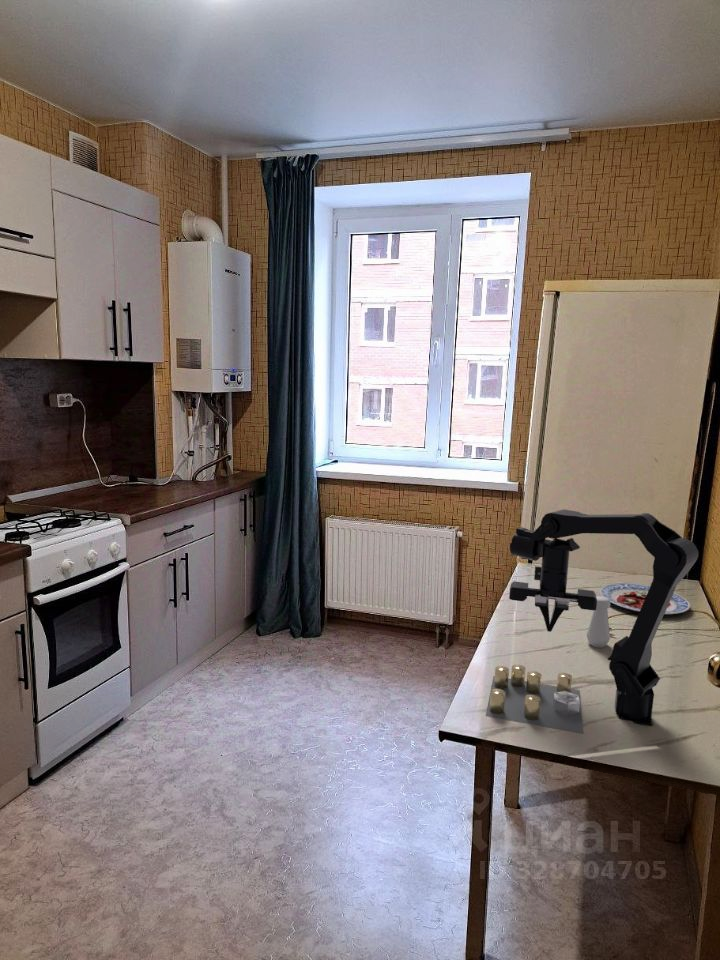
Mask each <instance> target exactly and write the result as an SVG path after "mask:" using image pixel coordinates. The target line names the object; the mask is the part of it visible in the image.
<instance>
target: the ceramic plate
mask: <svg viewBox="0 0 720 960" xmlns="http://www.w3.org/2000/svg"><path fill="white" fill-rule="evenodd" d="M650 586H651V585H645V584H644V585H643V584H636V583H613V584H607V585H606V586H603V587H602V588H601V589H600V591H599V592H600V596H602V597H606V598H608V599H609V600H610V604H611V603H612V604H614V605H615V606H618V607H621V608H624V609H627V610H631V611H634V612H640V610H641V607H642V605H643V603H644V600H645V598H646V595H647V593H648V591H649V588H650ZM690 608H691V604H690V602H689V601H688V600H687V599H686V598H684V597H682V595H679V594H678V593H675V592H674V593H673V595H672V598H671V600H670V602H669V604H668V607H667V609H666V611H665V614H664V615H675V614H677V615H678V614H682V613H685V612H687V611H689V609H690Z"/></svg>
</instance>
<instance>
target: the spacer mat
mask: <svg viewBox="0 0 720 960" xmlns="http://www.w3.org/2000/svg"><path fill="white" fill-rule="evenodd" d="M494 681H495V675H493V677H492V681H491V687H490V692H489V697H488V701H487V706H486V711H485V716H486V717H489V718H495V719H500V720H505V721H512V722H517V723H523V724H527V725H534V726H539V727H543V728H544V727H545V728H551V729H553V730H554V729H555V730H560V731H565V732H570V733H571V732H572V733H577V734H582V735H583V734H584V724H583V712H582V700H581V690H580V689H574V688H571V693H572V694H574V695H577V696H578V697H579V701H580V708H579V714H573V715H565V714H562V713H560V712H558V711H555V710H554V707H553V696H554V693H556V692H557V685H551V684H544V683H541V687H540V693H539V694H530V693H528V692H527V691H526V685H527V680H525V681H524V686H523V687H515V686H512V685H511V678H509V677H508V687H507V688H506V689H501V690H503V691H504V692H505V707H504V713H502V714H495V713H492V712H491V711H490V695H491V690H492V689H500V688H497V687H495V686H494ZM526 695H536V696H538V697H539V698H540V711H539V719H538V720H529V719H527V718H525V717H524V708H525V697H526Z"/></svg>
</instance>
